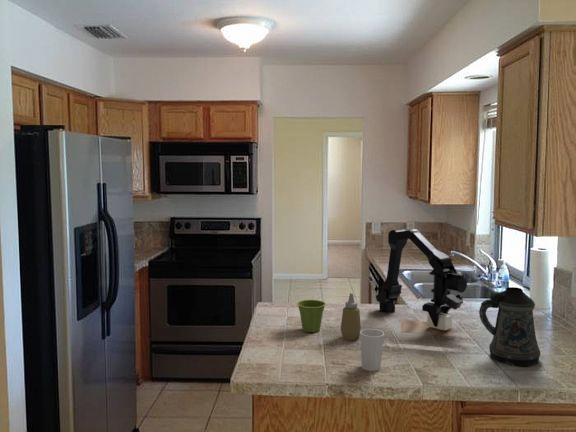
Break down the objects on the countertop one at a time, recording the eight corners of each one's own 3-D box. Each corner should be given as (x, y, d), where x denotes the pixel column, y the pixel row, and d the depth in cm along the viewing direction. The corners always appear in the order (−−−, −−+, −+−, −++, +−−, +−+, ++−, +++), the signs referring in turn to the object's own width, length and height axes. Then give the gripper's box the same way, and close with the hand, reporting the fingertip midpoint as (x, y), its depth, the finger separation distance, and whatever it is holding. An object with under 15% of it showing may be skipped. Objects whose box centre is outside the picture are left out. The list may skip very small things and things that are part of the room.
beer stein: (551, 364, 171) (555, 293, 169) (503, 371, 166) (507, 297, 163) (516, 347, 187) (519, 282, 184) (471, 352, 182) (474, 285, 179)
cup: (356, 362, 172) (357, 329, 171) (379, 362, 173) (380, 328, 171) (362, 372, 164) (363, 337, 163) (386, 371, 165) (387, 336, 163)
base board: (400, 335, 199) (400, 332, 199) (401, 323, 214) (401, 320, 214) (453, 340, 194) (453, 336, 194) (450, 327, 210) (450, 323, 209)
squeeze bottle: (362, 336, 198) (363, 291, 196) (358, 343, 191) (359, 297, 189) (342, 334, 201) (343, 290, 199) (338, 340, 193) (338, 295, 191)
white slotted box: (445, 330, 198) (445, 317, 198) (427, 326, 203) (427, 313, 203) (451, 327, 202) (452, 314, 202) (434, 322, 208) (434, 310, 207)
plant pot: (329, 327, 209) (330, 301, 207) (319, 336, 198) (319, 308, 197) (303, 323, 213) (303, 298, 212) (292, 332, 203) (292, 305, 202)
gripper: (448, 295, 189) (447, 335, 191) (470, 286, 202) (468, 324, 204) (422, 289, 197) (420, 328, 198) (444, 281, 210) (443, 318, 212)
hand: (439, 324), depth 203 cm, fingers closed on white slotted box, 6 cm apart
